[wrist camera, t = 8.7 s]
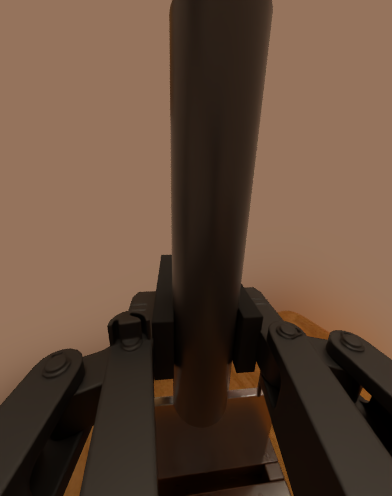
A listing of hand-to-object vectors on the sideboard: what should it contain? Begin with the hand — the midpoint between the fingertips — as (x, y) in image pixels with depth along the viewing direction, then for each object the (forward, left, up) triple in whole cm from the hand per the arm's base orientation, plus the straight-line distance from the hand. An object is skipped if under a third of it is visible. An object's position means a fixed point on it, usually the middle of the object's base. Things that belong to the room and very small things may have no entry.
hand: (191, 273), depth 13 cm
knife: (+2, -5, -10) cm, 11 cm away
